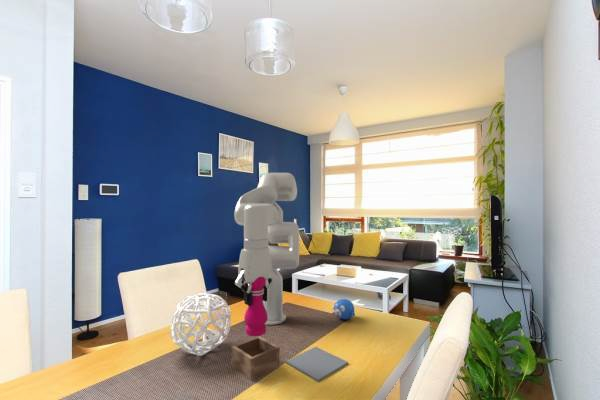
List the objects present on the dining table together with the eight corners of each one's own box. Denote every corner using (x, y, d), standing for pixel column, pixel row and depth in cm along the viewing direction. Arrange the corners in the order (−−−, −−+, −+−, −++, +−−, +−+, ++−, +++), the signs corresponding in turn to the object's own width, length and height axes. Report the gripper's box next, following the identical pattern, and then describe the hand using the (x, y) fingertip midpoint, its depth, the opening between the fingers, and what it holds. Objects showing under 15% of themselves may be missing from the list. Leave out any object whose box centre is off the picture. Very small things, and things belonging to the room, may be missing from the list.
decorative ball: (212, 371, 92) (213, 307, 92) (155, 363, 96) (156, 302, 96) (241, 341, 111) (241, 289, 111) (192, 335, 116) (192, 285, 116)
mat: (285, 362, 97) (285, 361, 97) (315, 348, 106) (315, 346, 106) (317, 382, 87) (317, 379, 87) (348, 363, 96) (348, 362, 96)
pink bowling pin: (263, 338, 91) (263, 271, 91) (240, 336, 93) (240, 270, 92) (270, 328, 98) (270, 266, 98) (249, 326, 100) (249, 265, 99)
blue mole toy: (322, 319, 133) (322, 299, 133) (339, 312, 141) (339, 294, 141) (343, 327, 124) (343, 307, 124) (361, 320, 132) (361, 300, 132)
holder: (231, 365, 95) (231, 346, 95) (259, 354, 102) (259, 336, 102) (251, 380, 87) (251, 359, 87) (279, 366, 95) (279, 347, 95)
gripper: (270, 240, 104) (270, 293, 104) (225, 245, 92) (225, 306, 92) (284, 242, 98) (284, 299, 98) (239, 249, 86) (239, 313, 87)
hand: (255, 301), depth 95 cm, fingers closed on pink bowling pin, 5 cm apart
